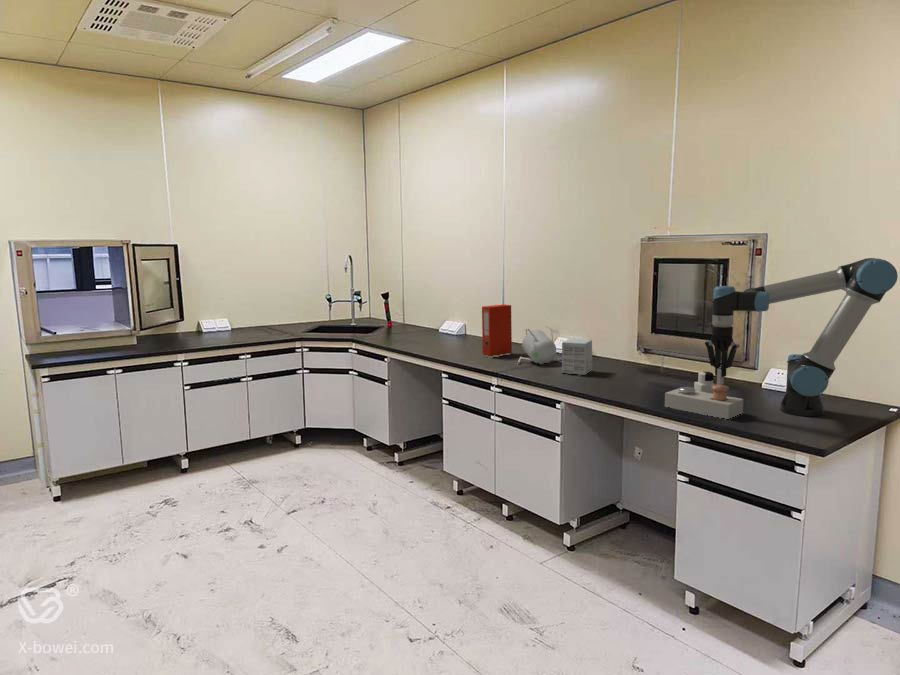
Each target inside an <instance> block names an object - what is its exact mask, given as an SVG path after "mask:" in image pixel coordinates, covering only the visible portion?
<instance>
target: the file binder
mask: <svg viewBox="0 0 900 675" xmlns="http://www.w3.org/2000/svg"><path fill="white" fill-rule="evenodd" d="M481 320H482V321H481V323H482V324H481V331H482V333H481V334H482V335H481V336H482V337H481V338H482V355H483V354H484V355H488V356H493V355H500V354H506V353H512V354H513V349H512V348H513V347H512V346H513V345H512V344H513V343H512V339H513V338H512V337H513V336H512V333H513V332H512V305H510V304H504V303H503V304H494V305H493V304H492V305H486V306H485V305H484V306H481Z"/></svg>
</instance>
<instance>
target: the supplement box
mask: <svg viewBox="0 0 900 675" xmlns="http://www.w3.org/2000/svg"><path fill="white" fill-rule="evenodd" d="M561 358H562V359H561V371H562V372H565V373H579V374H587V373H588V372H589V371H591V370H592V371H593V339H585V338H583V339H582V338H568V339H566V340H565V341H562V342H561ZM592 371H591V372H592ZM562 372H561V373H562ZM587 375H588V374H587Z"/></svg>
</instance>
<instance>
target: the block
mask: <svg viewBox="0 0 900 675" xmlns="http://www.w3.org/2000/svg"><path fill="white" fill-rule="evenodd" d="M668 407H670V408H669V409H673V410H679V411H684V412H687V411H688V413H692V412H693V414H697V413H698V415H702V416H707V415H708V417H711V416H713V417H712V418H716V417H719V418H718V419H721V418H725V419H724V420H726V419H729V420H731V419H733V418H732V417H734V418H736V417H738V416H740V415H739V414H741V415H743V414H744V413H743V412H744V398H739V397H735V396H734V397H732V396H728V395H727V400H726V401H724V402H722V401H717V400H713V394H712V393H706V392H700V391H695V392H694V394H693V395H685V394H681V392H680V391H679V388H676V389H673V390H669V391H667V392H665V393H664V408H668ZM742 413H743V414H742ZM737 415H738V416H737ZM735 416H736V417H735ZM730 418H731V419H730Z"/></svg>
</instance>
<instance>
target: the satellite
mask: <svg viewBox="0 0 900 675" xmlns="http://www.w3.org/2000/svg"><path fill="white" fill-rule="evenodd" d="M544 326H545V328H548V329H550V330H549V331H550V337H549V336H548V335H547V334H546V333H545V332H544V331H543V330H541V329H535V330H531V329H529V328H526V329H525V336H524V338H523V339H522V342H521V347H522V350H523V351H524V352H525V353H526V354H527V355H528V356H529V357H522V356H520V357H519V359H518V361H517V363H518V362H519V363H520V361H521V360H526V361H533V362H534V363H535V364H537V363H547V364H548V363H551V362H552V361H553V360H554V358H555V357H556V355H557V346H556V344H555V342H554V338H553V333H554V334H556V335H558V334H559V331H557V329H553V328H551V327H549V326H547V325H544Z"/></svg>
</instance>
